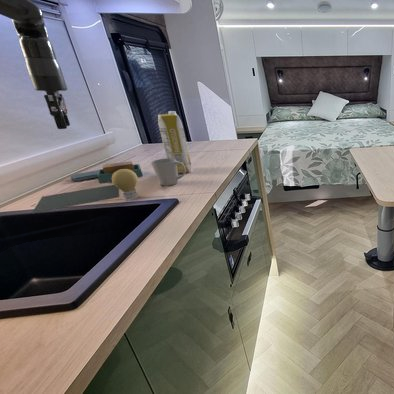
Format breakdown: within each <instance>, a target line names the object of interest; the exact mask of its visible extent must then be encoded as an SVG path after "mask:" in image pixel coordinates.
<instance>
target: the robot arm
mask: <svg viewBox="0 0 394 394" xmlns="http://www.w3.org/2000/svg"><path fill="white" fill-rule="evenodd" d="M0 15H1V16H2V17H3V16H4V17H6V18H8V19H11V22H12V24H13V27H14V29H15V31H16V34H17V36H18V42H19V46H20V49H21V52H22V55H23V58H24V61H25V66H26V69H27V72H28V75H29V78H30V80H31V83H32V86H33V89H34V90H35V91H38V92H45V94H44V95H43V96H44V101H45V102H46V106H47V108H48V111H49V114H50V116H52V118H53V120H54V123H55V125H56V128H57V130H67V128H68V127H69V126H71V124H70V120H69V117H68V109H67V105H66V102H65V99H64V96H63V94H62V93H60V92H63V91H64V92H66V91H67V90H68V86H67V84H66V80H65V76H64V74H63V71H62V68H61V66H60V63H59V61H58V59H57V56H56V52H55V50H54V47H53V44H52V42H51V41H50V38H49V35H48V30H47V28H46V24H45V20H44V14H43V12H42V10H41V8H40V7H39V6H38V5H37V4H36V3H34V2H33V1H32V0H0Z"/></svg>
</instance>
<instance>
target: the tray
mask: <svg viewBox="0 0 394 394" xmlns="http://www.w3.org/2000/svg"><path fill="white" fill-rule="evenodd" d="M133 167H134V170H131V171H133V172H134V173H135V174H136V175H137V177H138V178H139V177H143V172H142V168H141V165H140V163H135V164H133ZM97 170H98V173H97V177H96V178H97V180H98V183H99V184H104V183H110V182H112V175H113V173H108V174H105V173H104V170H103V168H100V169H97Z"/></svg>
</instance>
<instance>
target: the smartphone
mask: <svg viewBox="0 0 394 394" xmlns="http://www.w3.org/2000/svg"><path fill="white" fill-rule="evenodd" d="M98 170H99V169H97V170H91V171H85V172H80V173H74V174H71V175H70V181H71V182H74V183H75V182H81V181H86V180H90V179H97V178H98V177H97V173H98Z"/></svg>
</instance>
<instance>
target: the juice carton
mask: <svg viewBox="0 0 394 394" xmlns="http://www.w3.org/2000/svg"><path fill="white" fill-rule="evenodd" d="M157 124H158V128H159V132H160V136H161V140H162V144H163V148H164V152H165V156H166V158H173V159H176V161H179V162H182V163H183V164H184V166H185V169H186V172H185V174H186V173H191V171H192V162H191V157H190V153H189V148H188V143H187V138H186V135H185V130H184V125H183V121H182V120H181V117H180V116H179V114H177V111H174V110H169V111H168V113H161V114H158V115H157ZM177 173H178V175H179V174H180V175H181V174H183V173H184V168H183V166H182V165H181V164H177Z"/></svg>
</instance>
